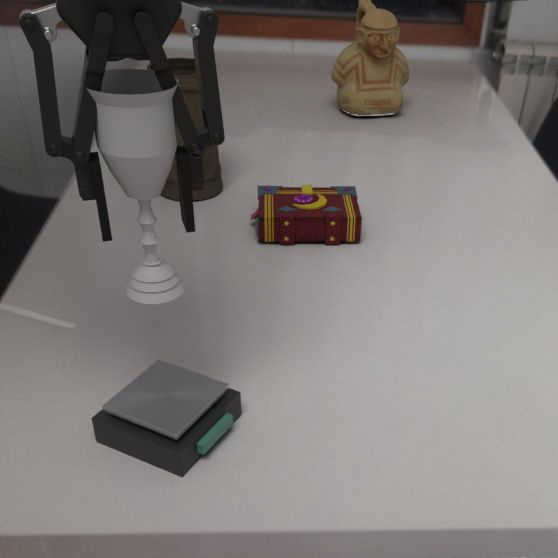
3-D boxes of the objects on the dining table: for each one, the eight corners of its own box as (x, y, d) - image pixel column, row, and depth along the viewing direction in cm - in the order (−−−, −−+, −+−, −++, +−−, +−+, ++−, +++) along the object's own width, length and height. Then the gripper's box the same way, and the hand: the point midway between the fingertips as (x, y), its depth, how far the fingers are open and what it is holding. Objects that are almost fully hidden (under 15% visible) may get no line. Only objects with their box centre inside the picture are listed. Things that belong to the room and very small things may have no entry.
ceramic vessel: (340, 125, 148) (346, -8, 134) (321, 97, 164) (324, -25, 149) (418, 123, 152) (432, -7, 138) (392, 96, 167) (402, -24, 153)
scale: (96, 441, 69) (91, 418, 67) (161, 385, 76) (158, 362, 74) (188, 480, 65) (185, 456, 63) (247, 417, 73) (246, 393, 71)
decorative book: (361, 245, 105) (363, 213, 102) (249, 245, 103) (248, 213, 100) (353, 212, 114) (355, 182, 111) (251, 212, 112) (249, 181, 109)
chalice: (97, 297, 62) (58, 84, 52) (142, 263, 68) (116, 64, 57) (169, 317, 60) (144, 100, 50) (211, 281, 66) (196, 77, 55)
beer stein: (203, 170, 125) (187, 50, 113) (239, 189, 119) (226, 65, 106) (123, 197, 117) (96, 70, 105) (158, 219, 111) (133, 88, 98)
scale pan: (102, 411, 67) (101, 405, 67) (159, 364, 73) (158, 359, 73) (176, 440, 64) (176, 434, 64) (229, 389, 71) (228, 383, 70)
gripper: (-59, -89, 42) (26, 264, 55) (263, -82, 47) (268, 236, 61) (-48, -100, 47) (27, 222, 61) (238, -92, 53) (248, 201, 66)
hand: (147, 229), depth 61 cm, fingers closed on chalice, 6 cm apart
